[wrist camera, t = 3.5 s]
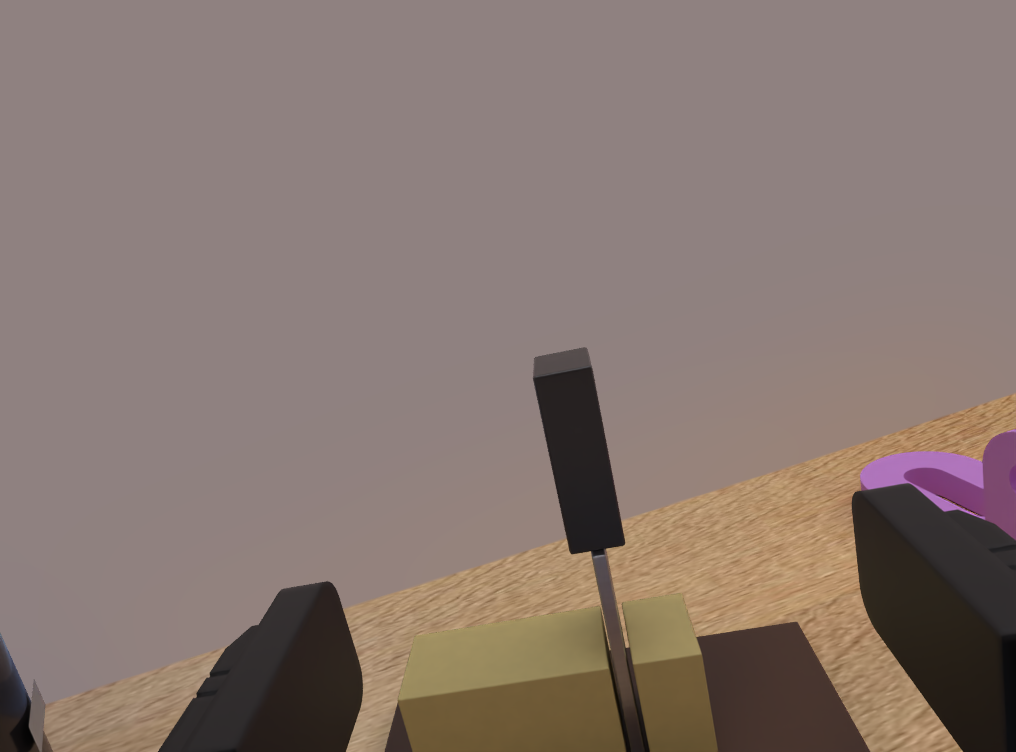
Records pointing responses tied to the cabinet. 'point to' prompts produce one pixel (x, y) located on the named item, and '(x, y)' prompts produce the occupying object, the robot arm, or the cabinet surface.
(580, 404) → the knife
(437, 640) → the butter
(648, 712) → the butter slice
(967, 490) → the bracket
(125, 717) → the cabinet surface
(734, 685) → the board
